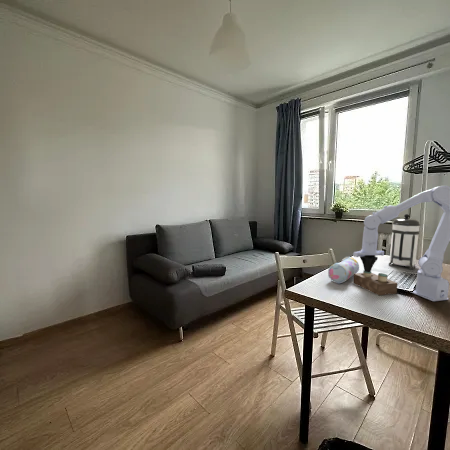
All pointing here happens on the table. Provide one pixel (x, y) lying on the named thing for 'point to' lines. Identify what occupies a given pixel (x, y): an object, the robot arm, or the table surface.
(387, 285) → the socket block
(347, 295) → the table surface
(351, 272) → the pencil case
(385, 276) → the peg near
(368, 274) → the peg far
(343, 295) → the table surface
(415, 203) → the robot arm
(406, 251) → the coffee press
